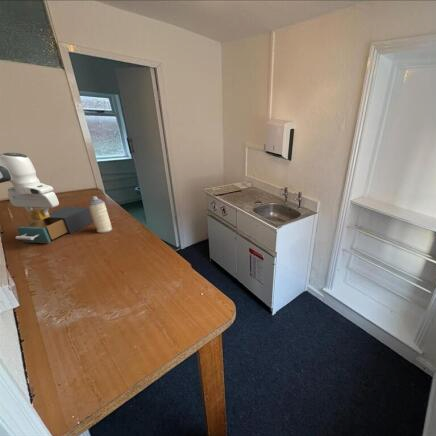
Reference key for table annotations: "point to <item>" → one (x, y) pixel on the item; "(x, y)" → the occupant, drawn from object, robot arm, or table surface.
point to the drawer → (42, 230)
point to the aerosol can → (100, 215)
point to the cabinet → (73, 217)
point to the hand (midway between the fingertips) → (40, 214)
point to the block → (37, 214)
